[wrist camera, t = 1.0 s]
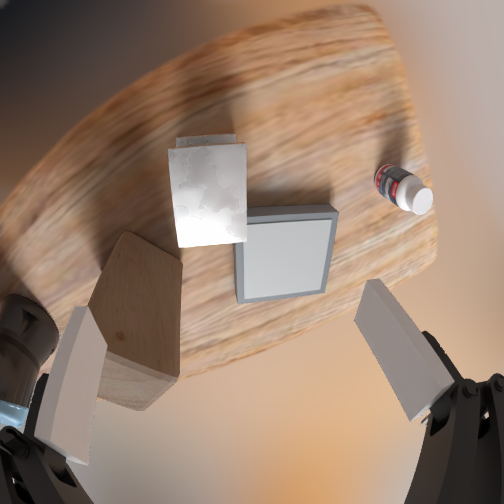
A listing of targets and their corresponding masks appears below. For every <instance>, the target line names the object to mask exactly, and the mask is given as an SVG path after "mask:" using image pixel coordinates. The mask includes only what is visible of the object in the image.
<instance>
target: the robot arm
mask: <svg viewBox="0 0 504 504" xmlns="http://www.w3.org/2000/svg"><path fill="white" fill-rule="evenodd" d="M354 321H355V323H356V324H357V325H358V328H359V329H360V331H361V333H362V335H363V336H364V338H365V340H366V341H367V343H368V345H369V347H370V348H371V350H372V352H373V354H374V355H375V357H376V359H377V361H378V363H379V364H380V366H381V368H382V370H383V372H384V374H385V375H386V377H387V379H388V381H389V383H390V385H391V386H392V388H393V390H394V392H395V394H396V396H397V398H398V400H399V401H400V403H401V405H402V407H403V409H404V411H405V413H406V415H407V417H408V419H409V421H412V420H414V419H416V418H418V417H420V416H422V415H423V414H424V413H425V412H426V411H427V410H428V409H430V411H431V413H430V414H429V415H428V416H427V417H425V418H424V420H422V422H421V425H423V424H424V423H425V422H427V421H428V422H427V424H426V425H425V426H427V427H426V432H425V437H424V441H423V445H422V449H421V453H420V457H419V461H418V464H417V467H416V471H415V474H414V477H413V480H412V483H411V486H410V489H409V492H408V495H407V497H406V500H405V503H404V504H504V376H503V375H501V374H498V373H496V374H493V376H492V377H491V378H490V379H489V380H488V381H484V382H479V383H476V382H475V381H473V380H471V379H464V378H463V377H462V376H461V375H460V373H459V372H458V370H457V369H456V367H455V366H454V364H453V363H452V362H451V360H450V359H449V357H448V356H447V354H445V351H444V350H443V349H442V347H440V344H439V343H438V342H437V340H436V339H435V338H434V337H433V336H432V335H431V334H430V333H428V332H427V331H423V332H421V331H420V330H419V329H418V327H417V326H416V324H415V323H414V322H413V320H412V319H411V318H410V317H409V315H408V314H407V313H406V311H405V310H404V309H403V307H402V306H401V305H400V303H399V302H398V301H397V300H396V298H395V297H394V296H393V295H392V293H391V292H390V291H389V290H388V288H387V287H386V286H385V285H384V283H383V282H382V281H381V280H380V279H379V278H378V279H371V280H367V282H366V285H365V288H364V292H363V295H362V298H361V301H360V304H359V307H358V310H357V313H356V316H355V319H354ZM58 341H59V333H58V329H57V327H56V325H55V323H54V322H53V320H52V319H51V318H50V316H49V315H48V314H47V313H46V312H45V311H44V310H43V309H42V308H41V307H40V306H38V305H37V304H36V303H34V302H33V301H31V300H29V299H27V298H25V297H23V296H20V295H8V296H6V297H5V298H4V299H3V301H2V303H1V304H0V423H2V424H5V425H7V426H5V427H4V428H3V429H2V430H1V431H0V504H94V503H93V502H92V501H91V499H90V498H89V496H88V495H87V493H86V492H85V490H84V489H83V488H82V486H81V485H80V483H79V482H78V480H77V478H76V477H75V475H74V474H73V472H72V471H71V469H70V467H69V466H68V464H67V463H66V458H68V459H69V460H71V461H73V462H76V463H80V464H85V465H89V454H90V442H91V434H92V425H93V418H94V412H95V405H96V399H97V394H98V388H99V383H100V378H101V373H102V368H103V363H104V359H105V355H106V350H107V346H108V345H107V343H106V342H105V340H104V338H103V336H102V334H101V332H100V330H99V328H98V326H97V324H96V322H95V320H94V318H93V316H92V313H91V311H90V309H89V307H88V306H79V307H75V308H74V310H73V312H72V315H71V317H70V319H69V322H68V324H67V327H66V329H65V332H64V334H63V337H62V339H61V342H60V345H59V347H58V350H57V353H56V356H55V359H54V362H53V365H52V368H51V371H50V374H46V373H43V374H42V376H41V377H40V378H39V380H38V381H37V383H36V379H37V376H38V373H39V370H40V367H41V366H42V365H43V364H44V362H45V361H46V360H47V359H48V358H49V356H50V355H51V354H52V353H53V352H54V351H55V349H56V347H57V344H58ZM35 383H36V387H35V390H34V395H33V397H32V393H33V389H34V386H35ZM31 397H32V403H31V404H30V401H31ZM29 405H30V408H29ZM28 411H29V412H28ZM486 412H488V413H489V417H488V418H487V419H486V418H485V416H484V414H486ZM27 413H28V416H27ZM26 416H27V420H26V425H25V429H24V433H23V434H22V433H21V432H20V431H18V430H17V429H16V428H18V427H21V426H23V424H24V421H25V419H26ZM12 478H14V481H15V483H13V480H12Z"/></svg>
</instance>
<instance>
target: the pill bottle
mask: <svg viewBox="0 0 504 504" xmlns="http://www.w3.org/2000/svg"><path fill="white" fill-rule="evenodd" d="M374 183H375V188H376V190H377V192H378V193H379V194H381V195H382V196H384V197H385V198H387V199H388V200H390V201H391V202H392V203H394V204H395V205H397V206H398V207H400V208H401V209H403V210H406V211H409V210H411V211H412V212H414V213H416V214H418V215H422V214H424V213H426V212H427V211H428V210H429V208H430V207H431V205H432V201H433V194H432V191H431V190H430V189H429V188H428V187H426V186H425V185H423V183H422V181H421V179H420V178H419V177H417V176H415V175H413V174H412V173H410V172H408V171H406V170H404V169H402V168H400V167H398V166H396V165H393V164H386V165H383V166H382V167H381V168H380V169H379V170H378V171H377V173H376V176H375V181H374Z"/></svg>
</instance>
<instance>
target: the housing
mask: <svg viewBox="0 0 504 504" xmlns="http://www.w3.org/2000/svg"><path fill="white" fill-rule="evenodd" d="M168 161H169V172H170V182H171V191H172V200H173V209H174V217H175V224H176V232H177V239H178V245H179V248H181V247H191V246H203V245H214V244H225V243H237V242H247V188H246V143H245V142H236V134H235V133H228V134H210V135H196V136H185V137H176V147H169V148H168Z"/></svg>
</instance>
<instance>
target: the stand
mask: <svg viewBox="0 0 504 504" xmlns="http://www.w3.org/2000/svg"><path fill="white" fill-rule="evenodd" d="M338 214H339V212H338V211H337V210H336V209H335V208H334V207H333V206H331V205H330V204H311V205H288V206H268V207H252V208H247V242H237V243H233V250H234V275H235V293H236V298H237V303H238V304H244V303H253V302H261V301H269V300H277V299H285V298H292V297H300V296H307V295H314V294H320V293H325V288H326V283H327V278H328V273H329V268H330V262H331V257H332V251H333V246H334V240H335V234H336V227H337V221H338Z"/></svg>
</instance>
